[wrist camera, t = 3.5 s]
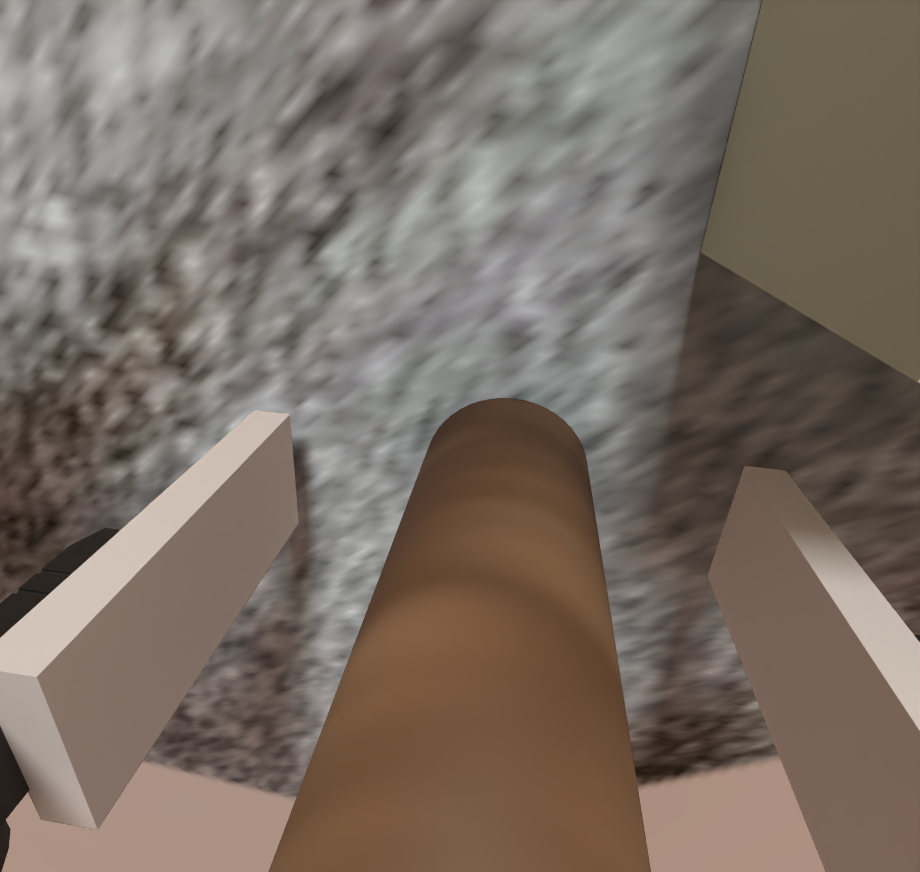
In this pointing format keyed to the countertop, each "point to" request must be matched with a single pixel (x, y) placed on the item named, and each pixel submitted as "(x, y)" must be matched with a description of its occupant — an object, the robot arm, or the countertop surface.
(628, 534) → the countertop surface
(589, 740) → the peg
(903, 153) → the peg box
